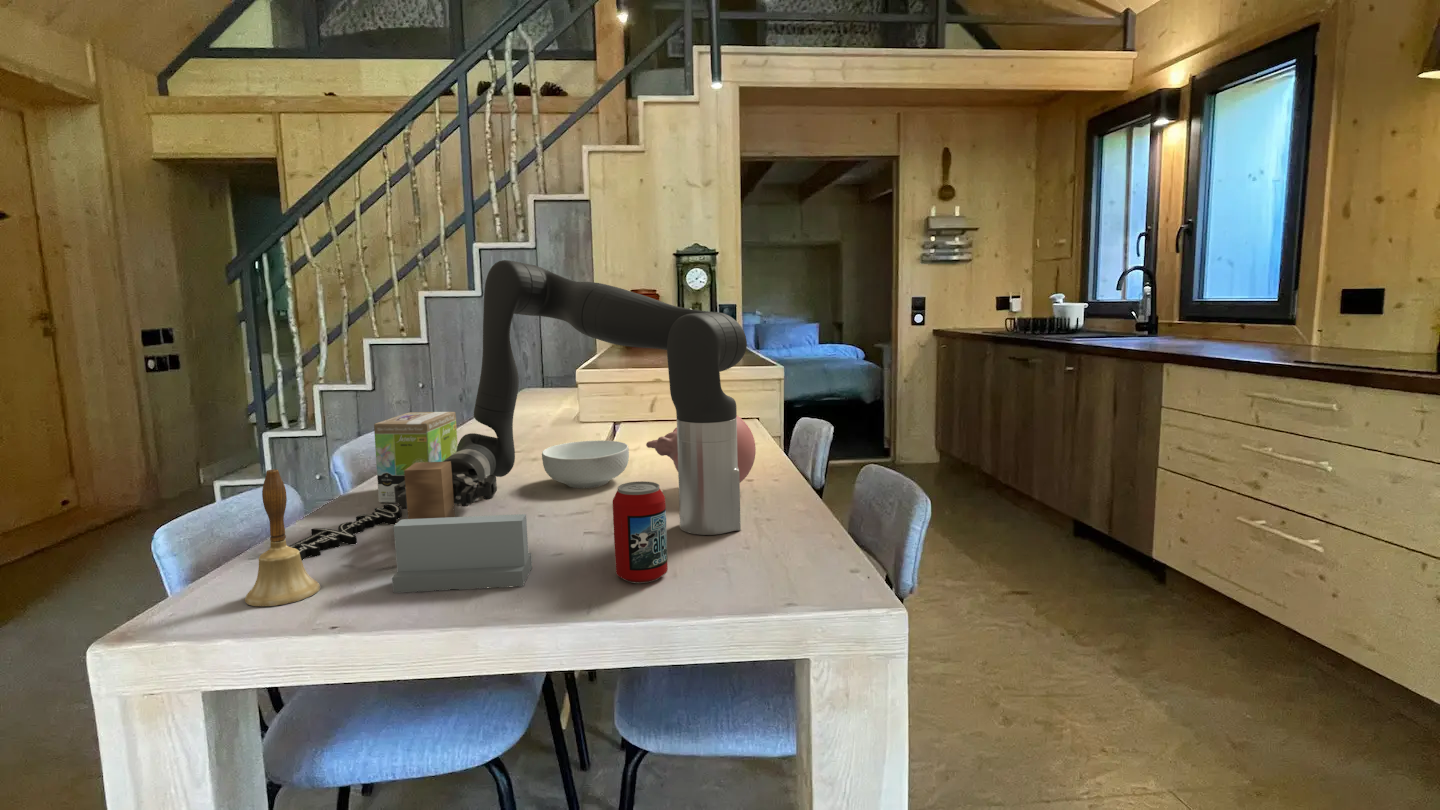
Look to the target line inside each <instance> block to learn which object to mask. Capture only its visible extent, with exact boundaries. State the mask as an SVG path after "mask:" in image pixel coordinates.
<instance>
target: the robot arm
mask: <svg viewBox="0 0 1440 810" xmlns="http://www.w3.org/2000/svg"><path fill="white" fill-rule="evenodd" d="M514 315H522V316H532V317H543V318H551V319H556V320H561V321H563V322H566V323H568V324H569V325H571V326H572V327H573V329H575V330H576V331H578V332H579V333H581V334H582V335H584V336H587V337H590V338H592V339H596V340H599V341H602V342H605V343H608V344H611V345H612V344H613V345H617V346H623V347H631V348H632V347H633V348H641V349H656V350H657V349H658V350H664V351H665V350H666V353H667V354H666V355H667V368H668V369H667V371H668V379H669V380H668V381H669V392H670V397H671V401H672V404H673V406H674V409H675V412H676V413H675V414H676V427H677V445H678V471H677V473H678V475H677V476H678V502H679V503H678V505H679V514H678V515H679V517H678V518H679V528H680V529H681V530H682V531H684V532H685V533H688V534H691V535H692V534H694V535H704V536H705V535H706V536H710V535H713V536H714V535H721V534H726V533H730V532H735V531H741V530H742V529H741V492H740V491H741V488H740V485H741V482H740V477H739V469H738V459H737V416H738V414H737V411H738V410H737V403H736V400H735V399H734V398H733V397H731V396H729V395H727V394H726V393H725V391H723V389H722V383H721V373H720V372H724V371H727V370H729V369H731V368H733V367H734V366H736V365H737V364H739V362H741V360H742V359H743V358H744V356H745V354H746V350H747V347H748V346H747V345H748V342H747V337H746V333H745V331H744V329H743V327H742V326H741V325H740V324H739V322H738V321H737V320H736V319H734V318H733V317H732V316H731V315H728V314H727V313H723V312H717V311H708V310H707V311H706V310H698V309H692V308H686V307H681V306H676V305H674V304H673V305H672V304H669V303H667V302H664V301H661V300H658V299H657V298H652V297H649V296H646V295H644V294H640V293H636V292H634V291H631V290H627V289H625V288H621V287H617V286H614V285H611V284H610V285H609V284H606V283H601V282H594V281H575V280H573V279H569V278H566V277H564V276H562V275H559V274H556V273H554V272H552V271H551V270H548V269H545V268H543V267H541V266H538V265H534V264H530V263H524V262H520V261H519V262H518V261H514V260H507V259H503V260H502V259H501V260H499V261H497V262H495V263H494V264H493V265H492V266H491V268H490V269H489V271H488V273H487V276H486V279H485V285H484V291H483V317H482V318H483V320H482V321H483V322H482V356H481V357H482V361H481V369H480V377H479V382H478V388H477V393H476V398H475V404H474V409H473V418H474V420H475V421H477V422H478V423H480V424H481V425H484V426H486V427H488V428H490V429H491V430H493V431H494V433H495V435H496V437H494V436H489V435H486V434H480V433H473V432H471V433H466V434H464V435H463V436H462V437H461V438H460V439H459V442H457V451H456V453H454V454H452V455H451V456H449V457H448V458H447V459H445V460H444V461H443V462H446V461H451V469H452V482H453V496H454V505H461V507H463V508H464V507H465V508H466V507H468V506H469V505H471V504H472V503H474V502H477V501H480V498H482V497H483V499H484V500H487V501H489V500H490V499H493V497H494V496H495V494H496V493H497V491H498V485H497V478H502V477H506V476H507V475H508V474H509V473H510V472H511V471H512V469H513V468H514V465H515V461H516V460H515V459H516V450H515V441H514V430H513V427H514V426H513V425H514V424H513V422H514V416H515V415H514V414H515V409H516V404H517V399H518V398H517V397H518V394H519V387H520V386H519V384H520V381H519V377H520V376H519V373H518V372H519V371H518V366H517V363H516V361H515V358H514V357H515V356H514V353H513V350H512V344H511V339H510V338H511V326H512V321H513V319H514V318H513V317H514ZM394 492H395V503H394V504H397V505H398V506H399V507H400V508H401V510H407V498H406V486H405V480H404V481H403V482H401V483H399V484H398V485H396V486H394Z"/></svg>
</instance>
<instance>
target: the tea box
mask: <svg viewBox="0 0 1440 810" xmlns="http://www.w3.org/2000/svg"><path fill="white" fill-rule="evenodd" d="M456 414H457V413H456V411H420V412H419V411H416V412H415V411H414V412H413V411H412V412H406V413H402V414H399V415H396V416H393V417H391V418H387V419H384V420H381V421H379V422H378V421H377V422H376V423H374V424H373V428H374V429H373V431H374V445H375V446H374V447H375V461H376V462H375V463H376V464H375V465H376V476H377V477H376V478H377V494H378V502H379V503H388V504H396V503H395V492H394V486H396V485H398V484H399V483H401V482H403V481H404V480H405V475H404V470H406V469H407V468H409V467H410V466H411V465H413V464H414V463H421V462H443V461H444V460H445V459H447V458H448V457H449V456H451V455H452V454H454V453H456V451H457V446H458V435H457V434H458V431H457V428H458V427H457V415H456Z"/></svg>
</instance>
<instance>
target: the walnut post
mask: <svg viewBox="0 0 1440 810" xmlns="http://www.w3.org/2000/svg"><path fill="white" fill-rule="evenodd" d="M404 475H405V486H406V498H407V509H406V510H407V519H423V518H446V517H456V513H455V511H456V510H455V504H454V496H453V482H452V469H451V461H446V462H421V463H414V464H413V465H411V466H410V467H409V468H407V469H406V470H404Z"/></svg>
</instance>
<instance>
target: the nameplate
mask: <svg viewBox="0 0 1440 810" xmlns="http://www.w3.org/2000/svg"><path fill="white" fill-rule="evenodd" d="M382 506H383V507H375V508H374V511H373V512H371V514H370V513H366V514H365V513H363V514H360V515H357V516H355V521H347V522H343V523H341V524H339V525H338V526H337V528H338V529H337V530H336V529H331V528H325V527H315V528H311V529H310V535H309V536H307V537H305V538H303V539H301V540H299V541H297V542H294V543H292V544H290V545H288V546H289V547H291V548H295V549H297V550H299V552H300V557H301V560H302V561H304V560H305V559H306V558H309V556H310V557H313V558H315V556H316V557H319V556H322V554H321V551H322V552H323V551H327V550H329V549H331V548H332V549H336V548H335V547H337V548H340V547H341V543H342V542H344V543H343V544H346V543H348V544H347V545H350V544H355V545H357V544H358V540H357V535H356V534H358V532H360V533H363V532H364V530H366V529H369V528H370V527H372V528H375V527H376V526H377V525H378V524H379V525H383V524H386V523H388V524H387V525H390V524H394V525H396V524H395V523H398V520H399V519H398V518H400V517H401V518H402V509H401V506H399V504H397V503H386V504H383V505H382ZM401 518H400V519H401ZM382 523H383V524H382ZM379 525H378V526H379ZM355 533H356V534H355ZM356 543H357V544H356ZM339 546H340V547H339ZM303 559H304V560H303Z"/></svg>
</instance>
